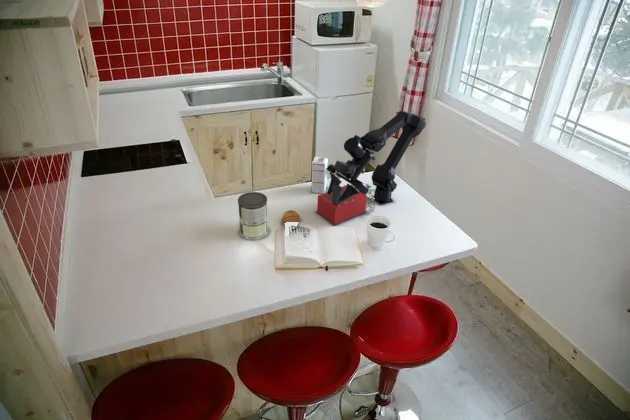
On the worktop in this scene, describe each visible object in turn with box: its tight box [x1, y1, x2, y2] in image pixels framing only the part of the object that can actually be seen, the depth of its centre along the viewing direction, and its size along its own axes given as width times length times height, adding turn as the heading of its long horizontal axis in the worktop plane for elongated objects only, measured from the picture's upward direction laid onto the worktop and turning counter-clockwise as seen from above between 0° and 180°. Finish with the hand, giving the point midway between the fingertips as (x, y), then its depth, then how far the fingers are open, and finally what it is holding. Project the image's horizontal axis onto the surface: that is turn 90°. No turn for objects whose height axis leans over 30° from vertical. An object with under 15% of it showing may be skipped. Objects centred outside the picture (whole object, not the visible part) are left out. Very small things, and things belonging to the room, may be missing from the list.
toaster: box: [316, 184, 368, 227], centre depth 173 cm, size 16×11×8 cm
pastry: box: [281, 209, 301, 224], centre depth 166 cm, size 9×7×4 cm
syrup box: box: [311, 156, 329, 194], centre depth 186 cm, size 6×6×14 cm
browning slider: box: [332, 184, 343, 205], centre depth 163 cm, size 2×3×7 cm
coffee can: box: [237, 191, 269, 241], centre depth 158 cm, size 10×10×14 cm
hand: (333, 197), depth 163 cm, fingers open, 6 cm apart
